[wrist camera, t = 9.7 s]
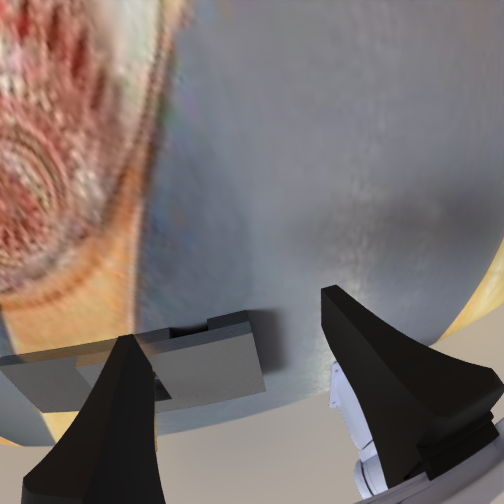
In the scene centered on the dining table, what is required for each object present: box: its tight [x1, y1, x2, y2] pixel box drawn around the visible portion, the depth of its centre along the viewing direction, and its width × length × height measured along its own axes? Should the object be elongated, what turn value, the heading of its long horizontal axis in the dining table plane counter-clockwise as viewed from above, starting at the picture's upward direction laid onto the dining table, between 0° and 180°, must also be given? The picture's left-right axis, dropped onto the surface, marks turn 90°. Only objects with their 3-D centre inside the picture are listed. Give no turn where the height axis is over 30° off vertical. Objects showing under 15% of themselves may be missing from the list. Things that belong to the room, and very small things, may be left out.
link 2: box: [75, 310, 266, 413], centre depth 25 cm, size 8×14×2 cm, turn 99°
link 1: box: [0, 328, 174, 413], centre depth 25 cm, size 8×18×1 cm, turn 99°
